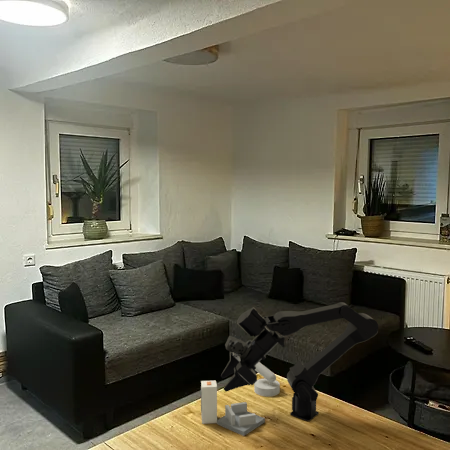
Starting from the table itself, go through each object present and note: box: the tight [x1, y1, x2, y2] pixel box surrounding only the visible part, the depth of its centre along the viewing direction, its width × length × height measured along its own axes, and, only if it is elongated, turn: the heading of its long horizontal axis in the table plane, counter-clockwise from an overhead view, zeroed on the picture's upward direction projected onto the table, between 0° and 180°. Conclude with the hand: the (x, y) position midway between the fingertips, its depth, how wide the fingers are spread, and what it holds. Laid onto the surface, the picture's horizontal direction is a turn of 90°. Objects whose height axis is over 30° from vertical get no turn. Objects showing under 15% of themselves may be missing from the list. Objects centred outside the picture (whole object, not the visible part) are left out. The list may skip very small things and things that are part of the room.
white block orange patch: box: [200, 380, 218, 425], centre depth 137 cm, size 4×4×11 cm
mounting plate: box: [216, 401, 266, 437], centre depth 135 cm, size 10×10×4 cm
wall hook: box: [253, 361, 281, 397], centre depth 157 cm, size 9×10×10 cm
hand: (223, 383), depth 137 cm, fingers open, 9 cm apart
